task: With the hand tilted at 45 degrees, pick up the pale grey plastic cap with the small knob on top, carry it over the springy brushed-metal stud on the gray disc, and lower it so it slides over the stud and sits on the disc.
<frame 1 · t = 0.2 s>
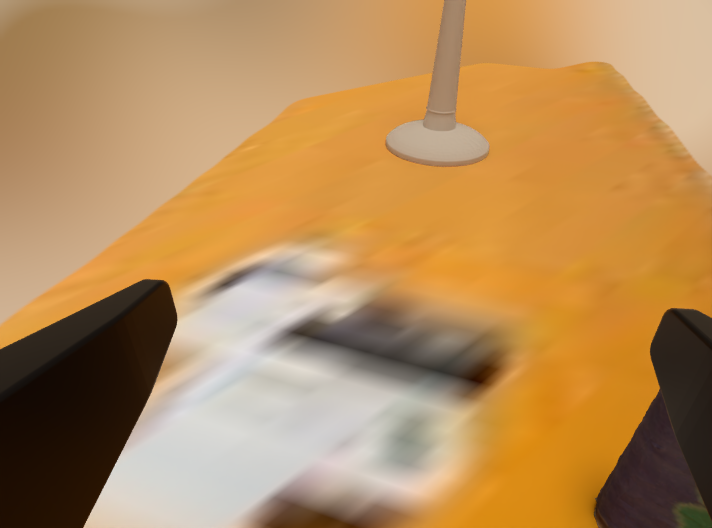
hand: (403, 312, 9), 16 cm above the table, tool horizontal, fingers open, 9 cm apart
candlestick: (436, 147, 60), on the table
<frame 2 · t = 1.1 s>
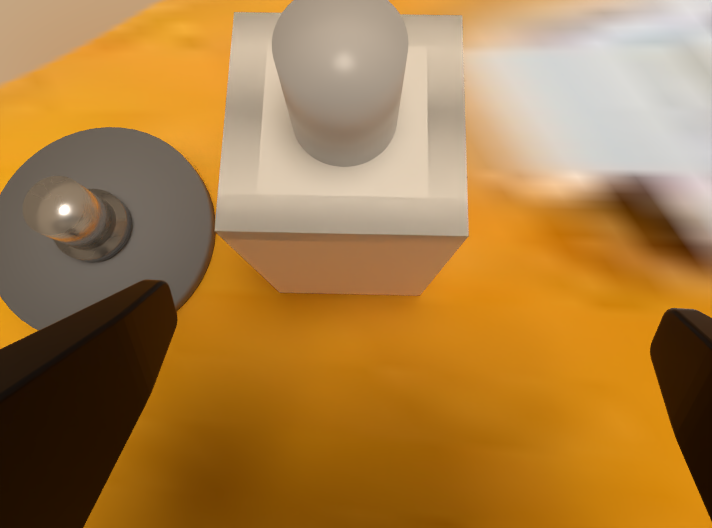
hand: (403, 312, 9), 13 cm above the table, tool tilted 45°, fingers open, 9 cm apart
stud: (76, 216, 20), point 3 cm above the table, hinge at 0.0°
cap: (351, 226, 22), on the table
gray disc: (109, 234, 22), on the table
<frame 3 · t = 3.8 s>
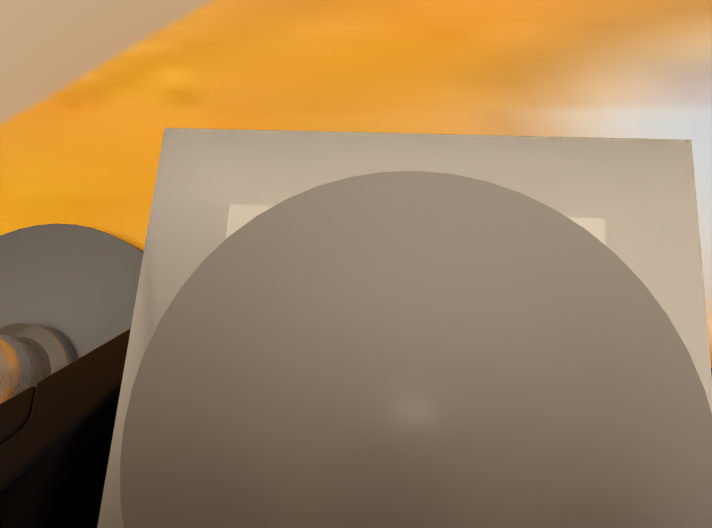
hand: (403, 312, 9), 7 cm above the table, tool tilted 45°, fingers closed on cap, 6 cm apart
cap: (398, 382, 15), on the table, touching gripper
gray disc: (55, 376, 16), on the table
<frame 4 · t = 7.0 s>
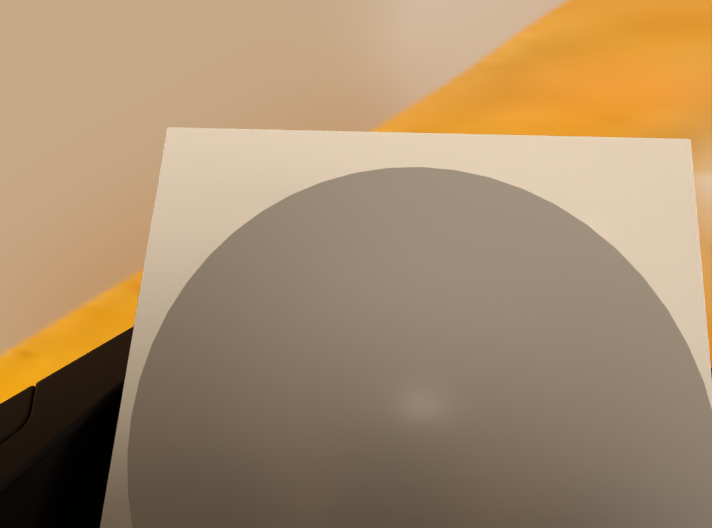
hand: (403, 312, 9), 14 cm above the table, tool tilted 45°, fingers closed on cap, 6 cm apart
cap: (399, 382, 15), point 7 cm above the table, touching gripper
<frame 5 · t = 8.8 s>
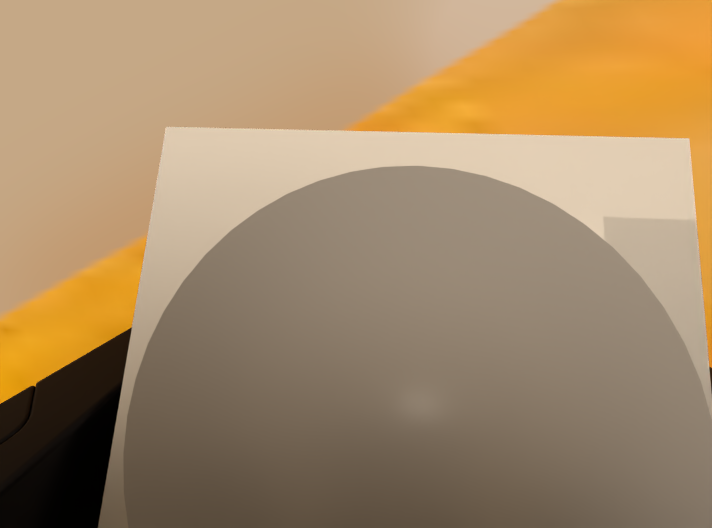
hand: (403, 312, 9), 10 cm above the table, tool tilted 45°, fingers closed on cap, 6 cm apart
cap: (398, 381, 15), point 3 cm above the table, touching gripper
when the fingers open (9 cm above the table, at t = 10.5 s): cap stays where it is, resting on gray disc.
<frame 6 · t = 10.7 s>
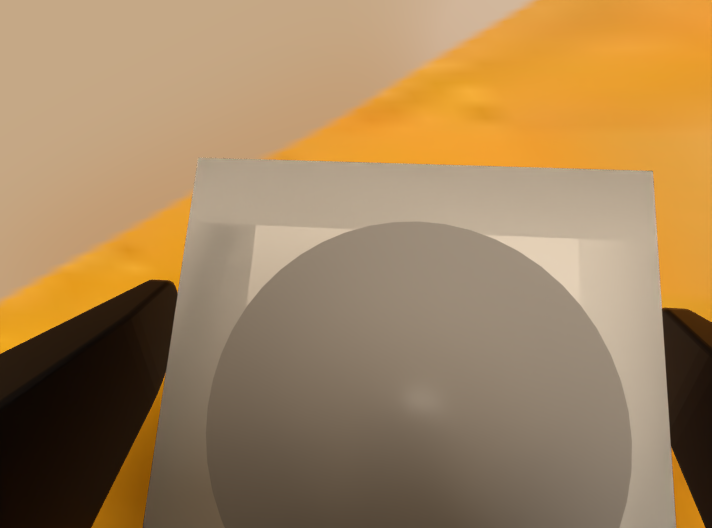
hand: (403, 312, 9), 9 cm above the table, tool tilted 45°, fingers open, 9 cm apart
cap: (399, 379, 16), point 1 cm above the table, touching gray disc
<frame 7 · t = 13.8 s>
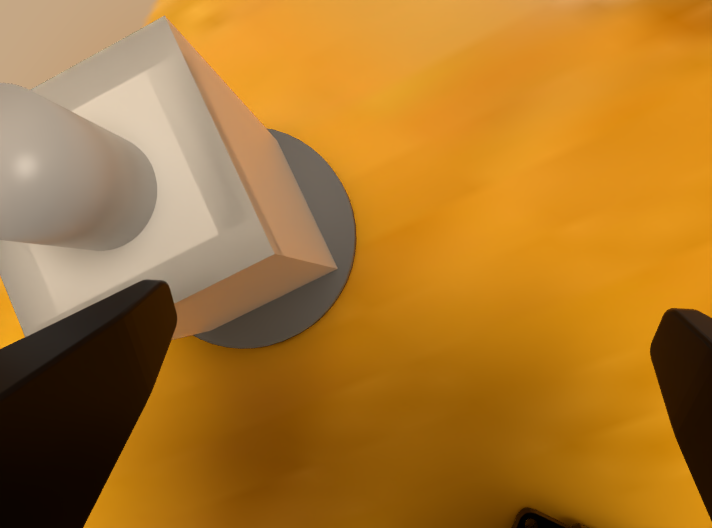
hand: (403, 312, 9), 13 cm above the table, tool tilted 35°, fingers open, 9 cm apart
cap: (243, 235, 21), point 1 cm above the table, touching gray disc
gray disc: (250, 238, 22), on the table
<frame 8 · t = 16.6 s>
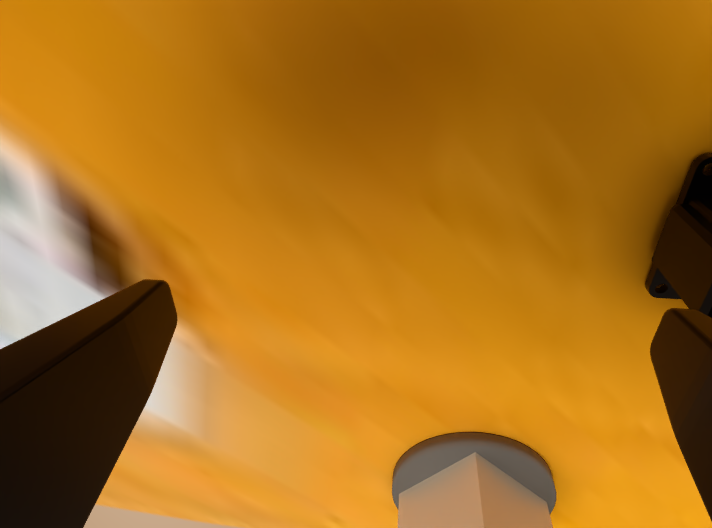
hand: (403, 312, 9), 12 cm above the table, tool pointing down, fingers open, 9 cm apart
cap: (471, 497, 30), point 1 cm above the table, touching gray disc
gray disc: (470, 483, 31), on the table
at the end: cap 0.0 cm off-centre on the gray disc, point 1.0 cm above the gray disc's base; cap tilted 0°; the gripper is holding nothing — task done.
